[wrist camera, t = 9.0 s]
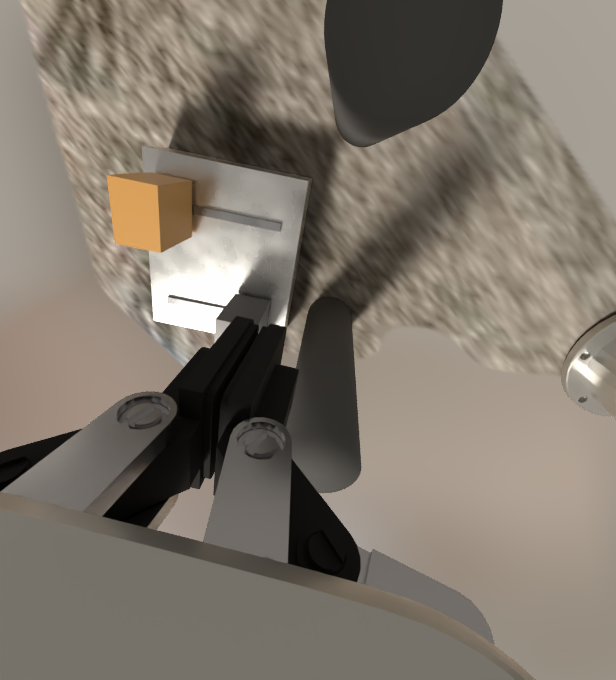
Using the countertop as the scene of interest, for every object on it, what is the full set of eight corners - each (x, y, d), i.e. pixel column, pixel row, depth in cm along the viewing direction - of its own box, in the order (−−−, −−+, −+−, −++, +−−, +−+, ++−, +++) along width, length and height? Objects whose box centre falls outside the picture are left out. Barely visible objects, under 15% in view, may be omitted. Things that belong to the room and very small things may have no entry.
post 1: (356, 302, 31) (371, 445, 16) (345, 340, 33) (349, 499, 18) (311, 292, 31) (282, 427, 16) (304, 332, 33) (271, 484, 18)
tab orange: (192, 180, 23) (157, 185, 19) (192, 236, 25) (160, 253, 21) (150, 172, 23) (106, 175, 19) (154, 228, 25) (115, 243, 21)
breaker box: (312, 178, 26) (308, 181, 23) (287, 326, 33) (280, 347, 29) (168, 147, 26) (139, 146, 22) (173, 303, 33) (152, 321, 29)
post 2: (403, 81, 23) (540, -88, 7) (384, 152, 25) (458, 141, 9) (342, 68, 23) (346, -131, 7) (329, 140, 25) (310, 110, 9)
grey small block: (270, 300, 27) (256, 327, 23) (265, 340, 29) (251, 372, 25) (235, 293, 27) (215, 319, 23) (232, 334, 29) (213, 364, 25)
